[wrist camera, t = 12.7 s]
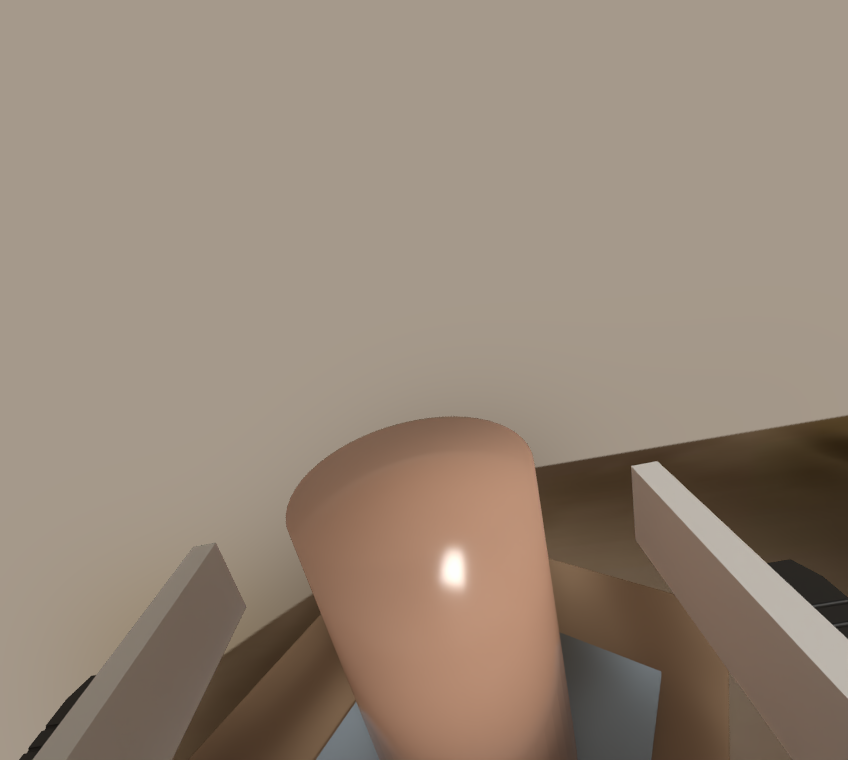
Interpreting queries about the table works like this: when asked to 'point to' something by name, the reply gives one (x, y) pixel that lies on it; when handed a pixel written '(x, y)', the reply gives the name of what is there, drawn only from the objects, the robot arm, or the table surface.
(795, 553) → the table surface
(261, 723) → the walnut box
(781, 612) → the robot arm
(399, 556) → the terracotta cylinder
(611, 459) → the table surface
